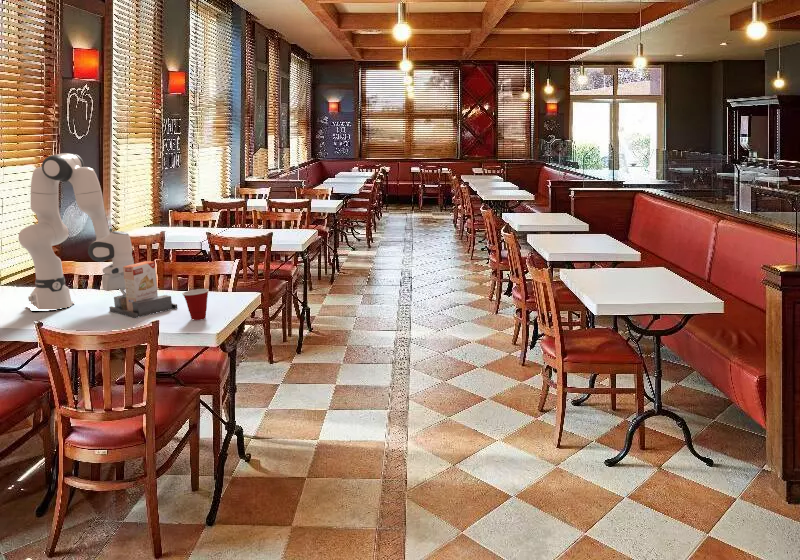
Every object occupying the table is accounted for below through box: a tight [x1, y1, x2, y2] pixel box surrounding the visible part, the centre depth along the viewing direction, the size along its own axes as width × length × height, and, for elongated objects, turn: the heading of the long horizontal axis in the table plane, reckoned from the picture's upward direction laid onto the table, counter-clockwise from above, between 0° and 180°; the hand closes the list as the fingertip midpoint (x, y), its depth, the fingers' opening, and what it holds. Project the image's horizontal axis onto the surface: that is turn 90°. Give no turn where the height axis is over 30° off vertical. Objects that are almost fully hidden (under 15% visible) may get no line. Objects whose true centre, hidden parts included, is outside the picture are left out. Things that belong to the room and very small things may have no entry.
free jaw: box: [113, 294, 127, 310], centre depth 324 cm, size 5×16×6 cm, turn 140°
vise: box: [108, 294, 178, 319], centre depth 319 cm, size 22×20×6 cm
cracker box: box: [123, 260, 159, 312], centre depth 318 cm, size 14×6×21 cm, turn 158°
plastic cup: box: [182, 288, 210, 321], centre depth 301 cm, size 11×11×12 cm
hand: (127, 297), depth 328 cm, fingers closed
